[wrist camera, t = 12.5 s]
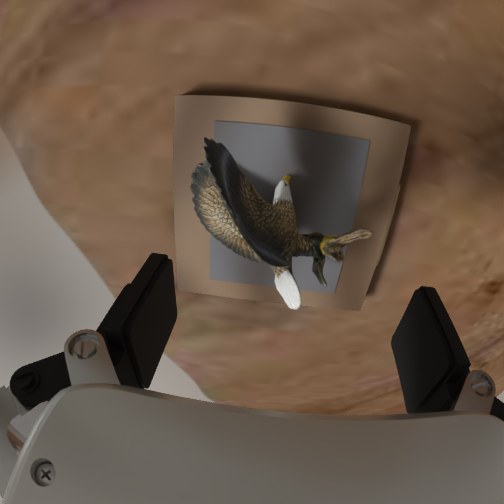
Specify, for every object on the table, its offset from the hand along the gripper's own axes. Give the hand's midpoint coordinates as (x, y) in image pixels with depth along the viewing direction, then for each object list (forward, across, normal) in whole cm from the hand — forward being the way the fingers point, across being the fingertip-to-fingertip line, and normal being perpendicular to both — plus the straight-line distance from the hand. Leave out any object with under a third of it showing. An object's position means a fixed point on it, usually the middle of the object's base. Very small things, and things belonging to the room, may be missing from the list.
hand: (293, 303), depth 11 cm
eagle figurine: (+9, +2, 0) cm, 9 cm away
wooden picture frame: (+10, +1, +1) cm, 10 cm away
